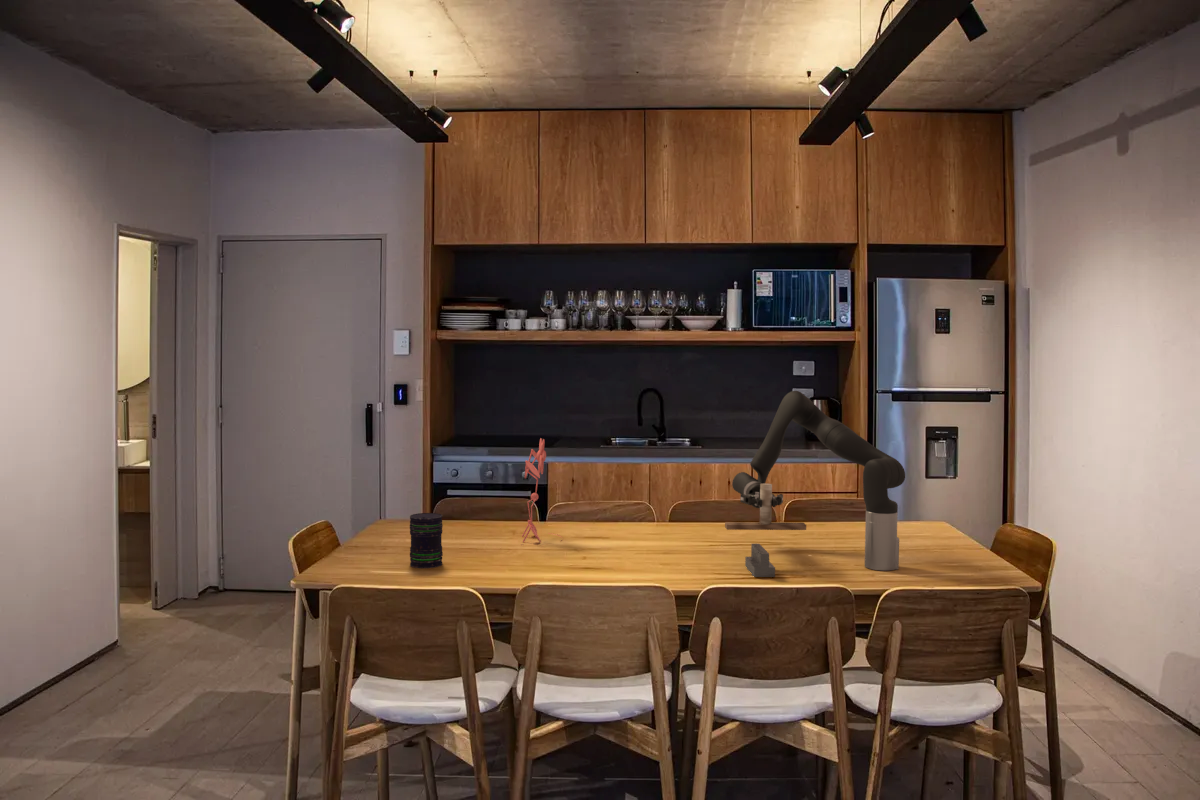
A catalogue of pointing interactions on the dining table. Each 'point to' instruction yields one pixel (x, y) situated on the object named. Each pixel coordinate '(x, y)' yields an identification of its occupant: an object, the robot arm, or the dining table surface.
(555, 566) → the dining table surface
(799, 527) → the balance bar
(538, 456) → the figurine
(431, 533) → the storage jar
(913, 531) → the dining table surface
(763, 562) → the ridge
